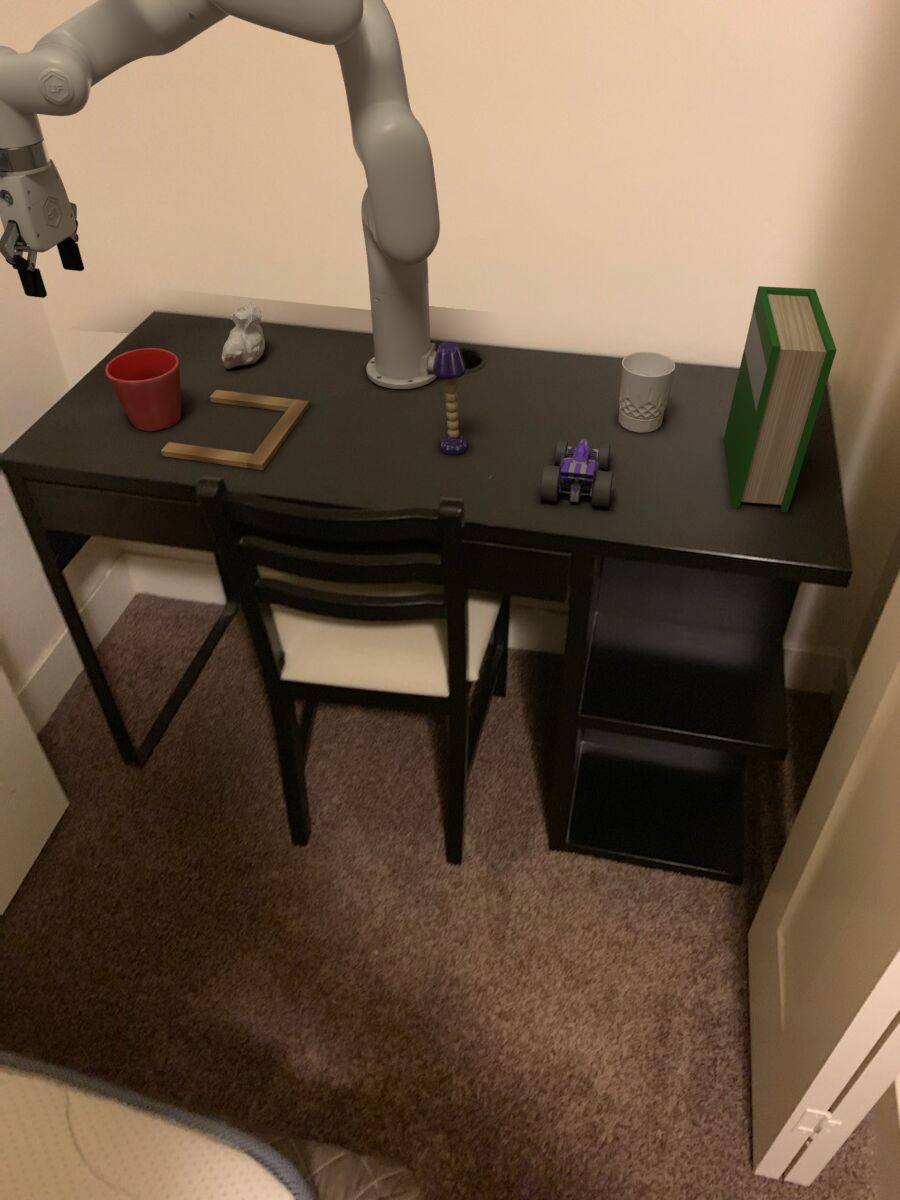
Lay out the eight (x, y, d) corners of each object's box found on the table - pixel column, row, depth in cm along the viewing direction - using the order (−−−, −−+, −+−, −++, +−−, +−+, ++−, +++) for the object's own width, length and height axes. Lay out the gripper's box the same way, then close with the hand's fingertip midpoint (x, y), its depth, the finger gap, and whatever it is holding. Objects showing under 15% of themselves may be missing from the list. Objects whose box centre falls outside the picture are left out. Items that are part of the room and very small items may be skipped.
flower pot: (174, 440, 138) (160, 383, 131) (109, 433, 140) (92, 377, 133) (202, 405, 146) (189, 350, 139) (140, 399, 147) (124, 345, 141)
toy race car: (615, 454, 133) (620, 416, 129) (607, 514, 123) (612, 474, 118) (551, 448, 135) (554, 410, 130) (538, 506, 124) (541, 467, 120)
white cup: (670, 415, 142) (681, 357, 135) (657, 439, 136) (667, 380, 130) (622, 405, 144) (630, 347, 137) (608, 428, 139) (615, 370, 132)
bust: (236, 387, 154) (266, 343, 147) (199, 359, 152) (227, 313, 145) (263, 355, 163) (292, 312, 156) (228, 328, 161) (256, 283, 154)
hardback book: (787, 512, 122) (836, 350, 106) (732, 507, 123) (772, 346, 107) (773, 443, 135) (815, 289, 119) (723, 439, 136) (758, 286, 120)
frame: (310, 406, 145) (309, 400, 144) (263, 470, 132) (262, 464, 131) (217, 394, 148) (216, 389, 148) (162, 456, 135) (160, 450, 134)
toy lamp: (444, 459, 133) (442, 356, 122) (430, 444, 136) (427, 342, 125) (472, 450, 135) (473, 348, 123) (458, 436, 138) (457, 334, 127)
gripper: (3, 178, 111) (45, 310, 123) (78, 140, 124) (110, 262, 135) (-49, 173, 113) (-3, 304, 124) (30, 136, 125) (65, 258, 136)
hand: (55, 282), depth 130 cm, fingers open, 9 cm apart
